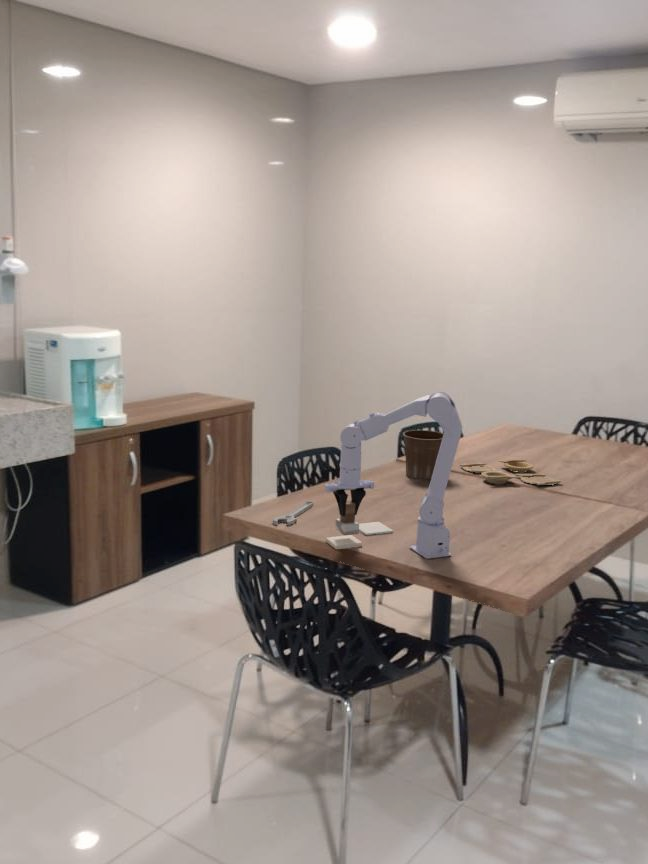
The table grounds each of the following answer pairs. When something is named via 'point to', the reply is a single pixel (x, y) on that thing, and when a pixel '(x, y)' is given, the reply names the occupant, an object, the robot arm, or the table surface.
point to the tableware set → (502, 477)
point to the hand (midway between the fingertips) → (348, 514)
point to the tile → (343, 542)
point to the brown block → (348, 521)
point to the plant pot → (421, 452)
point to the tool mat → (374, 528)
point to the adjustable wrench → (292, 514)
